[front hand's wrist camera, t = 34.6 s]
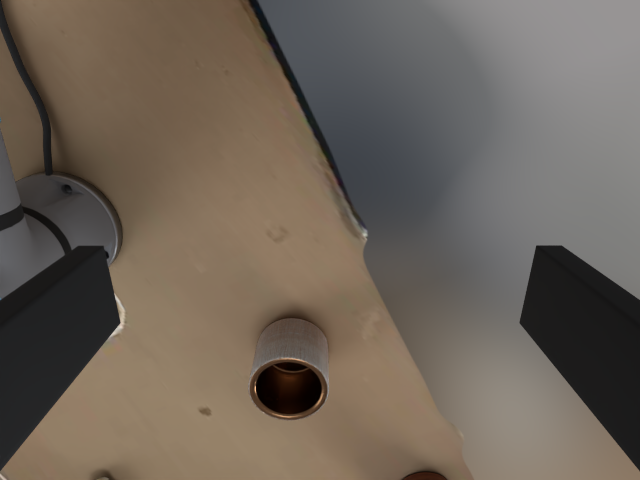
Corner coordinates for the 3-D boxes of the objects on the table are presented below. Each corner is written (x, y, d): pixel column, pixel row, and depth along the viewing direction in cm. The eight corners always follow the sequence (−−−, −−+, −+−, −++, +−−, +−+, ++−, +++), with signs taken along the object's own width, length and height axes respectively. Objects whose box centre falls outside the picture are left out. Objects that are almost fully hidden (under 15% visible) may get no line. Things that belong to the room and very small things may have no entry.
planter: (342, 348, 62) (346, 393, 54) (291, 385, 65) (286, 433, 56) (295, 302, 59) (290, 342, 50) (243, 342, 62) (230, 387, 53)
